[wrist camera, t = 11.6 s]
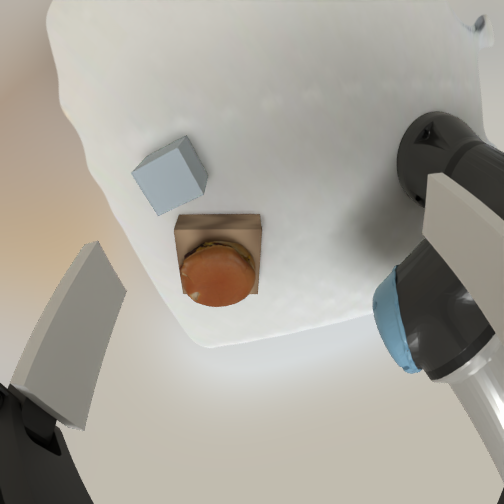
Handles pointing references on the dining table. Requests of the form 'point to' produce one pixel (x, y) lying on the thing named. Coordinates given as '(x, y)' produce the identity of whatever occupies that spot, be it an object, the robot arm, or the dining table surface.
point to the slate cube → (171, 176)
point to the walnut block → (219, 234)
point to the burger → (218, 273)
